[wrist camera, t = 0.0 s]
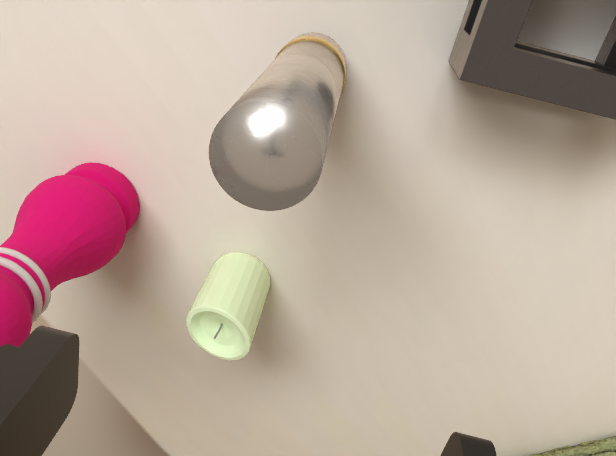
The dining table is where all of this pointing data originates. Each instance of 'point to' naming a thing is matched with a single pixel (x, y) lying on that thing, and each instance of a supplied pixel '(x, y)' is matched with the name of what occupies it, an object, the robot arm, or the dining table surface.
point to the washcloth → (586, 449)
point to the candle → (229, 306)
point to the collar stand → (531, 60)
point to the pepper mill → (61, 240)
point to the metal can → (281, 126)
